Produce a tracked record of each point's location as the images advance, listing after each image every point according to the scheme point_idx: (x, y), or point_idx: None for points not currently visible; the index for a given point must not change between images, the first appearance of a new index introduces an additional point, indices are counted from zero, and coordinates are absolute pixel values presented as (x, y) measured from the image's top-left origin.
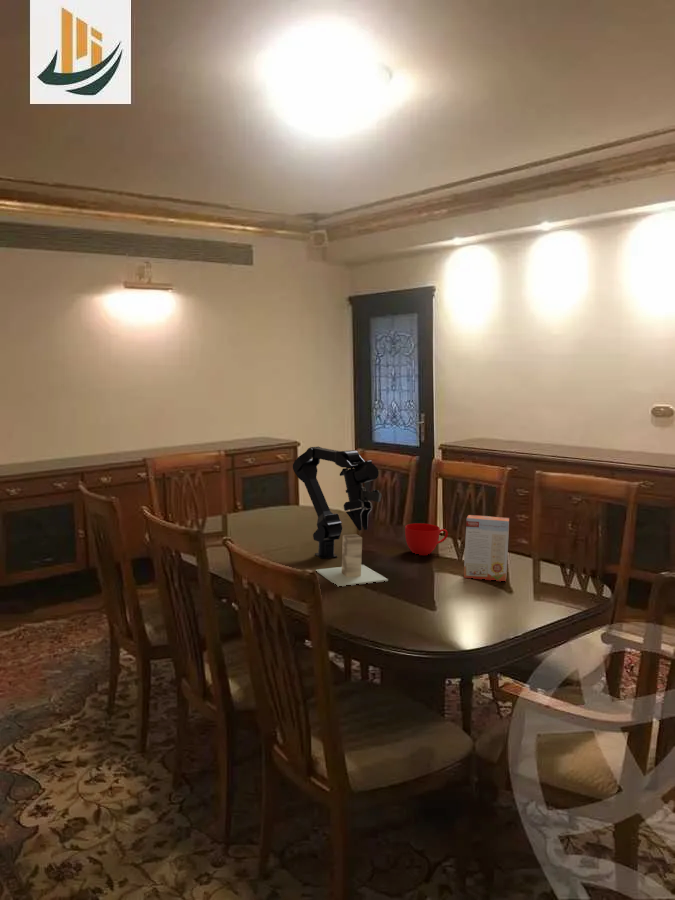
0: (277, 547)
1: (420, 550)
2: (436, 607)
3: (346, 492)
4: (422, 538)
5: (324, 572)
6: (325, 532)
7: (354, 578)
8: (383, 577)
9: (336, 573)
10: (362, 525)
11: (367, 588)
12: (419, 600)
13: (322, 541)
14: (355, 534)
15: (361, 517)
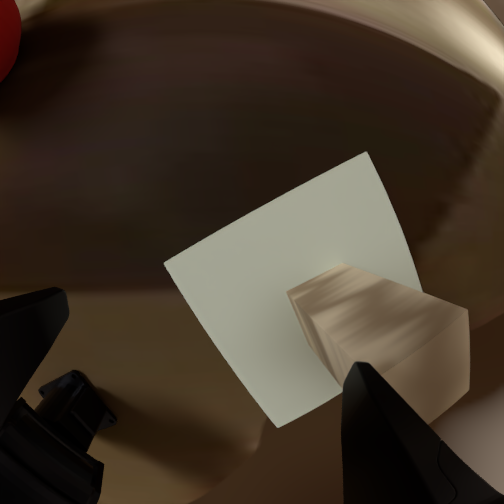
0: None
1: (15, 48)
2: (488, 84)
3: None
4: (4, 17)
5: (310, 399)
6: (97, 490)
7: None
8: (348, 167)
9: (319, 360)
10: (43, 354)
11: (436, 232)
12: (473, 102)
13: (103, 465)
14: None
15: (423, 475)
